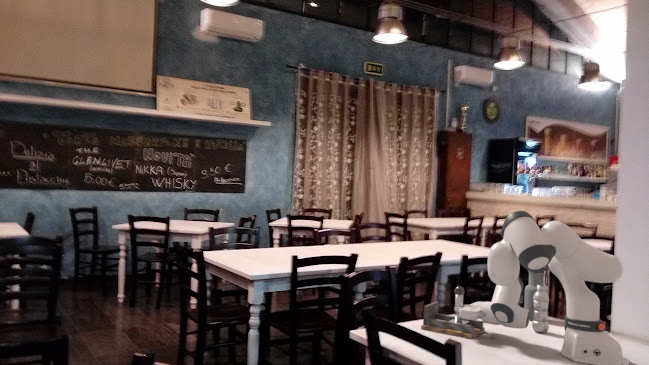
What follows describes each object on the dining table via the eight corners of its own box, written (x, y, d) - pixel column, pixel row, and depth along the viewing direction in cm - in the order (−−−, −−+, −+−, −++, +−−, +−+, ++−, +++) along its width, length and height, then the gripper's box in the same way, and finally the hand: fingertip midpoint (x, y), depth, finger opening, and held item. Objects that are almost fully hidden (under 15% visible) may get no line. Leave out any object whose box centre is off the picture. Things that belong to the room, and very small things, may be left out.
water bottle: (545, 317, 260) (546, 259, 260) (548, 322, 250) (550, 261, 250) (522, 315, 262) (524, 258, 262) (525, 320, 252) (527, 260, 253)
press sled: (469, 327, 231) (470, 286, 231) (462, 330, 225) (464, 288, 225) (454, 324, 235) (455, 284, 236) (447, 327, 229) (448, 286, 229)
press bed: (484, 330, 232) (485, 308, 232) (470, 338, 219) (471, 315, 219) (436, 322, 245) (437, 301, 245) (421, 329, 232) (421, 306, 232)
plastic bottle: (540, 334, 228) (542, 287, 228) (528, 330, 235) (529, 284, 235) (552, 333, 231) (553, 286, 231) (539, 329, 237) (541, 283, 237)
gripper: (479, 325, 214) (447, 319, 222) (497, 316, 231) (465, 310, 239) (480, 309, 214) (447, 303, 223) (497, 301, 231) (466, 296, 239)
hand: (457, 307), depth 231 cm, fingers closed on press sled, 3 cm apart
